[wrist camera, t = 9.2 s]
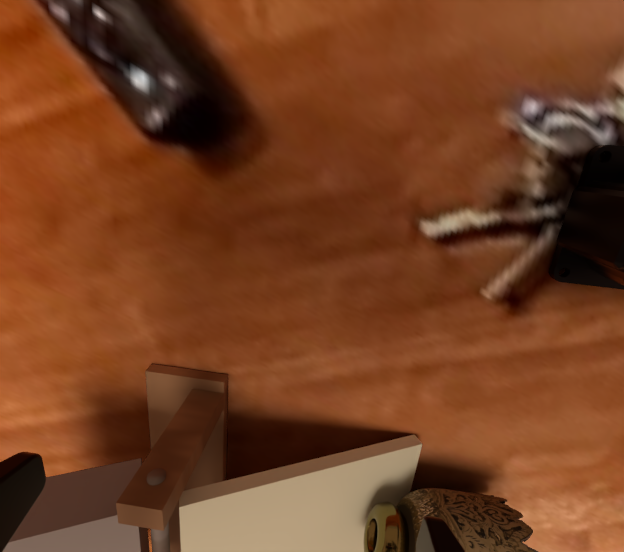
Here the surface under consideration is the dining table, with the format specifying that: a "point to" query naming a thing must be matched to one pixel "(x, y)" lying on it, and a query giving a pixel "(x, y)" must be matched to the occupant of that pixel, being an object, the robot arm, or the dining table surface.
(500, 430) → the dining table surface
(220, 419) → the post frame
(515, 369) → the dining table surface
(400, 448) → the trapdoor
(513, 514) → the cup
